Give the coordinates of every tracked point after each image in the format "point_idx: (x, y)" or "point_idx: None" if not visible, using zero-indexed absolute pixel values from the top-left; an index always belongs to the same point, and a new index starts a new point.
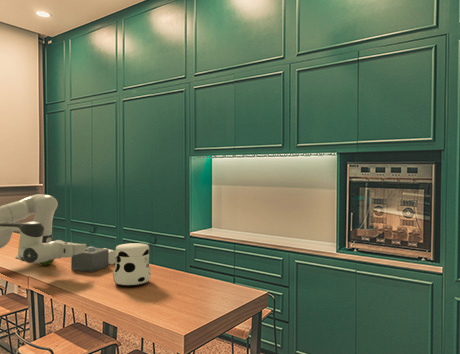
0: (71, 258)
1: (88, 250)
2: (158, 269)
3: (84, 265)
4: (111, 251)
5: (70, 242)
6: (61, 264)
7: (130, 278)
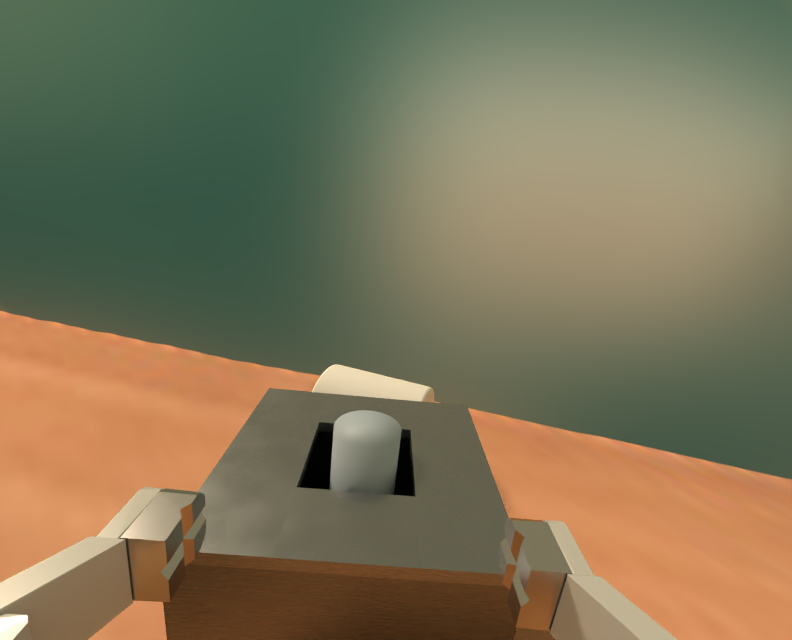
0: (166, 625)
1: (364, 473)
2: (719, 484)
3: None
4: (426, 398)
5: (165, 505)
6: (4, 570)
7: None
